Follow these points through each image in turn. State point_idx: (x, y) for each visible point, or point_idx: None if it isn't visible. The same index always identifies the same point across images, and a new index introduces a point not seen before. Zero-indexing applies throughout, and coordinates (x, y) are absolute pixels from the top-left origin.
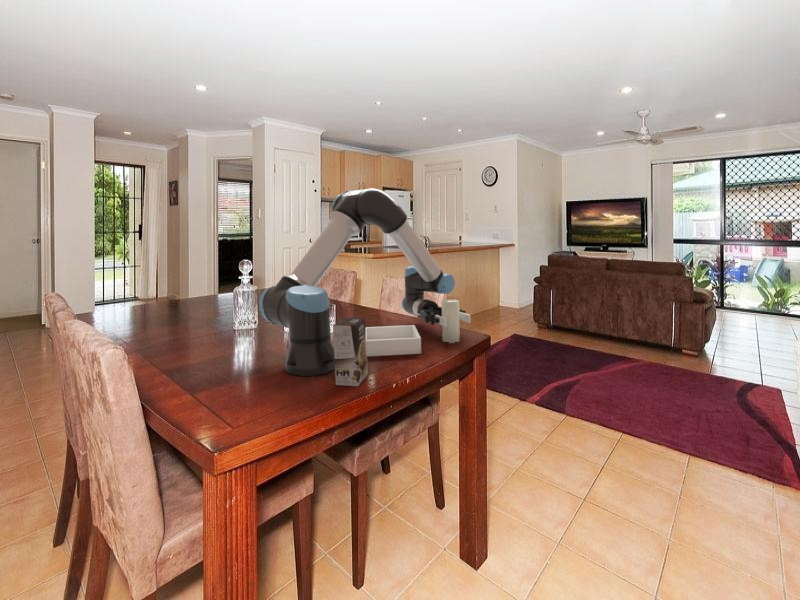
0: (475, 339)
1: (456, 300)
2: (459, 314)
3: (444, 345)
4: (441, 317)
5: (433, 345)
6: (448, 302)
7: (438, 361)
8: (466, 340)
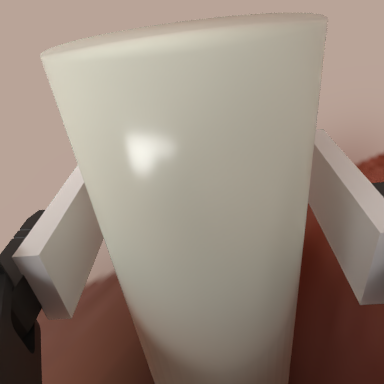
0: (72, 319)
1: (86, 42)
2: (59, 256)
3: (303, 293)
4: (341, 151)
5: (378, 320)
6: (255, 14)
7: (375, 163)
8: (129, 325)
